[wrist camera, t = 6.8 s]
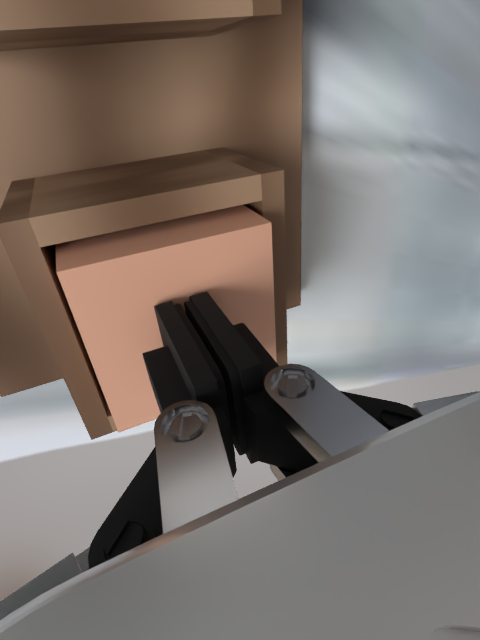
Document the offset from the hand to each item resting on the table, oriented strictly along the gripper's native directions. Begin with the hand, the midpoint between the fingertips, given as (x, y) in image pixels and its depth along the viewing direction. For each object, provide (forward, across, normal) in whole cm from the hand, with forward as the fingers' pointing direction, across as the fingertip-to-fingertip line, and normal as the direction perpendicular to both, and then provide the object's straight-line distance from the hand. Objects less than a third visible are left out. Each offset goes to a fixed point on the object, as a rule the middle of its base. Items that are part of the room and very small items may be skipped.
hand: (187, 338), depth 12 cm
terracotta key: (+5, 0, 0) cm, 5 cm away
